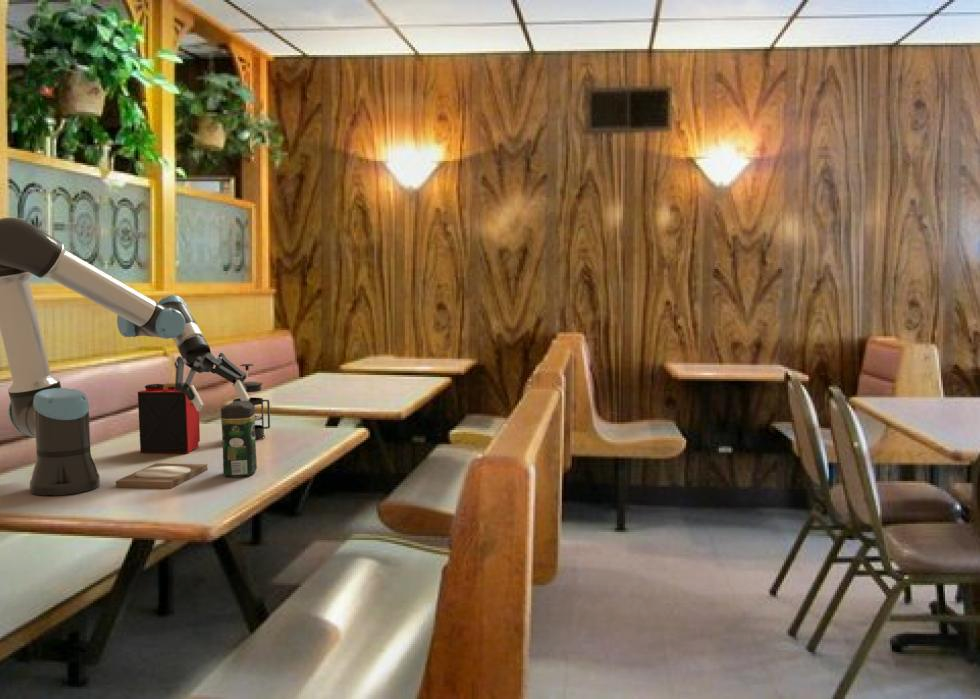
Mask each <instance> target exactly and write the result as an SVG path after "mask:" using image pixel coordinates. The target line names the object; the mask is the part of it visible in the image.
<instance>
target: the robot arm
mask: <svg viewBox="0 0 980 699" xmlns="http://www.w3.org/2000/svg"><path fill="white" fill-rule="evenodd" d="M32 275H34V276H36V277H37V278H39V279H43V278H49V279H50V280H52V281H54V282H56V283H58V284H60V285H61V286H63V287H65V288H67V289H70V290H71V291H73V292H75V293H77V294H78V295H80V296H82V297H84V298H86V299H88V300H89V301H91V302H93V303H95V304H97V305H99V306H101V307H103V308H104V309H107V310H108V311H110V312H112V313H114V314H116V315H117V316H116V324H117V329H118V331H119V334H120V335H121V336H122V337H123V338H136V337H152V338H159V339H160V338H162V339H171V340H172V341H173V342H174V344H175V346H176V348H177V350H178V353H179V354H180V356H177V357H176V359H175V361H174V366H175V370H176V371H175V378H174V379H175V382H174V383H175V390H177V391H178V390H181V392H182V393H183V394H186V396H187V398H188V399H189V400H192V402H193V404H194V406H195V408H196V410H197V412H199V413H200V412H201V411H202V408H203V407H204V405H205V404H204V402H203V400H202V398H201V396H200V394H199V393H198V391H197V389H196V387H195V386H194V384H193V385H191V383H192V382H193V379H194V377H195V374H196V373H198V374H202V373H212V374H216V375H218V376H220V377H221V378H223V379H224V380H227V381H228V382H230V383H231V384H232V386H233V384H235V385H234V386H233V388H234V390H235V392H236V394H237V396H238V398H240V399H241V401H249V399H250V398H251V397H250V396H248V394H249V393H248V394H247V392H246V390H247V388H246V387H245V385H244V383H243V382H245V380H247V373H245V372H244V371H242V370H241V369H240V368H239V367H237V366H236V365H235V364H234V363H233V362H231V360H229V359H228V358H227V357H226V355H225V354H224V353H223V352H220V353H219V354H217V355H214V354H213V353H212V351H211V347H210V345H209V344H208V342H207V340H206V338H205V336H204V334H203V332H202V330H201V329H200V327H199V325H198V323H197V322H196V319H195V318H194V316H193V314H192V312H191V310H190V308H189V306H188V305H187V304H186V302H185V301H184V299H183V297H181V296H179V295H177V294H176V295H175V294H173V295H168V296H166V297H165V296H164V297H163V298H161V299H160V300H159V301H158V302H157V301H155V300H154V299H152V298H150V297H148V296H146V295H145V294H143V293H141V292H140V291H139V290H137V289H135V288H133V287H131V286H130V285H128V284H125V283H124V282H122V281H121V280H119V279H117V278H116V277H113V276H111V275H110V274H108V272H105V271H104V270H101V269H100V268H98V267H96V266H94V265H93V264H91V263H90V262H88V261H85V260H84V259H82V258H81V257H79V256H77V255H76V254H74V253H72V252H70V251H68V250H67V249H65V245H64V243H63V242H62V241H60V240H58V239H56V238H54V237H53V236H51V235H49V234H48V233H47V232H45V231H43V230H41V229H40V228H39V227H37V226H35V225H33V224H31V223H29V222H27V221H26V220H23V219H20V218H16V217H2V218H0V335H1V340H2V343H3V346H4V351H5V354H6V358H7V362H8V367H9V371H10V375H11V379H12V383H11V384H10V385H9V388H8V389H7V392H8V395H9V396H8V397H9V400H10V403H9V405H8V409H7V410H8V411H7V412H8V414H7V415H8V419H9V421H10V423H11V425H12V426H13V427H14V428H15V429H16V430H17V431H18V432H19V433H21V434H22V435H24V436H27V437H29V438H32V439H35V445H36V446H35V447H36V448H35V450H36V461H35V464H34V468H33V471H32V474H31V479H30V481H29V489H30V490H29V493H31V494H32V493H33V494H32V495H36V494H37V495H36V496H46V495H53V496H66V495H73V494H74V495H75V494H80V493H84V492H89V491H92V490H95V489H96V488H98V487H100V485H101V480H100V479H101V478H100V474H99V472H98V469H97V467H96V463H95V461H94V459H93V457H92V453H91V435H90V434H91V431H90V429H91V428H90V404H89V400H88V399H89V398H88V395H87V393H85V392H84V391H82V390H79V389H76V388H67V387H62V386H61V385H62V384H61V381H60V379H59V378H58V377H57V376H54V375H53V374H52V373H51V372H52V371H51V368H50V364H49V360H48V356H47V351H46V347H45V343H44V339H43V335H42V331H41V327H40V322H39V317H38V313H37V309H36V304H35V301H34V297H33V293H32V288H31V285H30V278H31V276H32ZM185 366H187V367H188V368H190V370H189V372H188V375H187V377H186V380H185V381H184V370H185Z"/></svg>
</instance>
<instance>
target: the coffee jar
mask: <svg viewBox="0 0 980 699" xmlns="http://www.w3.org/2000/svg"><path fill="white" fill-rule="evenodd" d="M254 413H255V414H254ZM255 415H256V411H255V412H254V405H253V404H252V403H250V402H249V401H233V400H232V402H230V403H228V404H226V405H224V406H223V407H221V409H220V421H221V435H222V436H221V437H222V467H223V468H222V469H223V471H222V472H223V475H224V476H225V477H230V478H231V477H232V478H241V477H245V476H248V477H249V476H251V475H254V474H255V472H257V471H256V470H257V469H258V465H257V447H256V446H257V445H256V443H257V442H256V441H257V440H255V425H256V421H255Z"/></svg>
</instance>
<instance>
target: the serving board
mask: <svg viewBox="0 0 980 699" xmlns="http://www.w3.org/2000/svg"><path fill="white" fill-rule="evenodd" d="M206 471H208V464H207V463H205V464H204V463H167V462H166V463H162V462H161V463H159V462H158V463H153V464H152V465H149V466H147V467H145V468H143V469H140V470H137V471H136V472H135V471H134V472H133V473H131V474H129V475H126V476H124V477H122V478H119V479H117V480H115V487H116V488H139V489H141V488H146V489H151V488H152V489H172V488H175V487H176V486H179V485H180V484H183V483H184V482H187V481H189V480H190V479H192V478H194V477H196V476H199V475H200V474H202V473H204V472H206Z"/></svg>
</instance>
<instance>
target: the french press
mask: <svg viewBox="0 0 980 699" xmlns="http://www.w3.org/2000/svg"><path fill="white" fill-rule="evenodd" d="M239 366H240V367H245V372H246V375H247V377H246V381H244V382H243V383H244V385H245V387H246V388H247V390H246V392H247V394H248V396H249V393H256V392H261V391H262V386H263V382H257V381H249V370H250V369H249V368H250V367H253V366H255V364H253V363H241V364H239ZM234 385H235V384H233V383H232V386H234ZM249 398H250V399H249V402H250V403H252V404H253V405H254V412H255V413H254V414H255V422H256V421H257V422H258V421H261V424H255V439H258V440H260V439H259V438H262V439H264V438H265V437H266V434H265V430H266V429H271V411H270V410H271V408H270V404H271V403H270V399H264V398H263V397H250V396H249ZM233 401H241V399H240V398H239V397H238V398H233V400H232V402H233ZM264 402H266V403H267V404H266V405H267V426H265V420H264ZM259 405H260V407H261V409H260V410H261V415H257V414H256V409H255V406H259ZM263 437H264V438H263Z"/></svg>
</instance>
